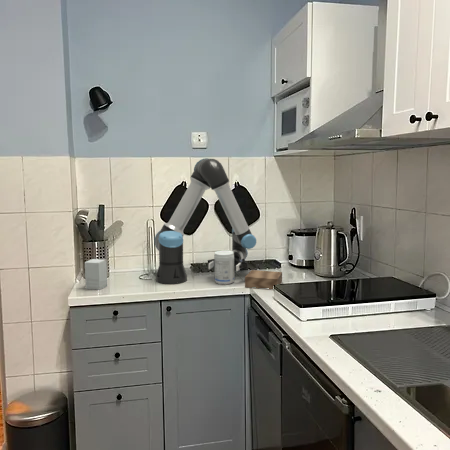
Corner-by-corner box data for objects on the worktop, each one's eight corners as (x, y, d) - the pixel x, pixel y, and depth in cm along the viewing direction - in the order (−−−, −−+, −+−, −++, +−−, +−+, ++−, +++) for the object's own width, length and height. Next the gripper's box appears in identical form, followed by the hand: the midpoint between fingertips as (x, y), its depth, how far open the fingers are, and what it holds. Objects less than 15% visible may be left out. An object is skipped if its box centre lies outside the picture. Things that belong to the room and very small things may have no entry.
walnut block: (244, 287, 216) (245, 276, 216) (251, 279, 230) (251, 269, 229) (277, 289, 212) (277, 279, 211) (282, 282, 226) (282, 272, 225)
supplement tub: (223, 277, 232) (223, 249, 229) (238, 281, 226) (238, 251, 223) (210, 282, 225) (210, 252, 222) (225, 286, 218) (225, 255, 216)
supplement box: (107, 286, 218) (107, 259, 216) (99, 290, 211) (98, 262, 209) (93, 284, 220) (92, 258, 218) (85, 289, 213) (84, 261, 211)
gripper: (258, 267, 238) (248, 277, 218) (211, 263, 245) (198, 273, 225) (258, 252, 237) (248, 261, 217) (211, 249, 244) (197, 258, 224)
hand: (222, 267), depth 221 cm, fingers open, 13 cm apart
